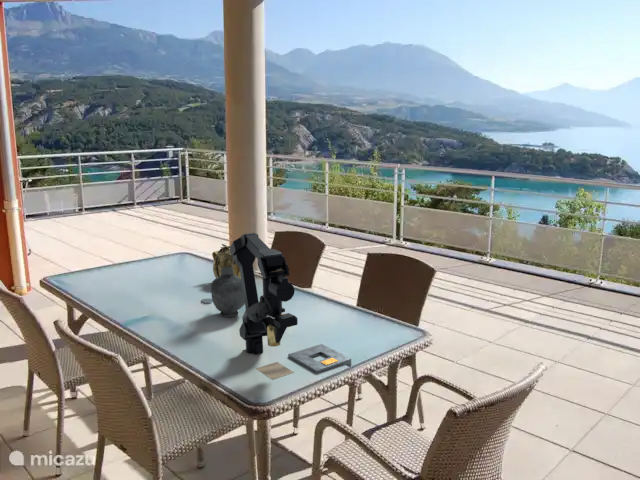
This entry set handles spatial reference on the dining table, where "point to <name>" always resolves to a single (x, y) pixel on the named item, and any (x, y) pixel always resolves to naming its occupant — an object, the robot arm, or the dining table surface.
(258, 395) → the dining table surface
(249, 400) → the dining table surface
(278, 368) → the pad
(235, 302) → the grey stone vase
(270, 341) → the brass peg
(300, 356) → the hole plate
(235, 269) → the dried plant tuft
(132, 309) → the dining table surface
